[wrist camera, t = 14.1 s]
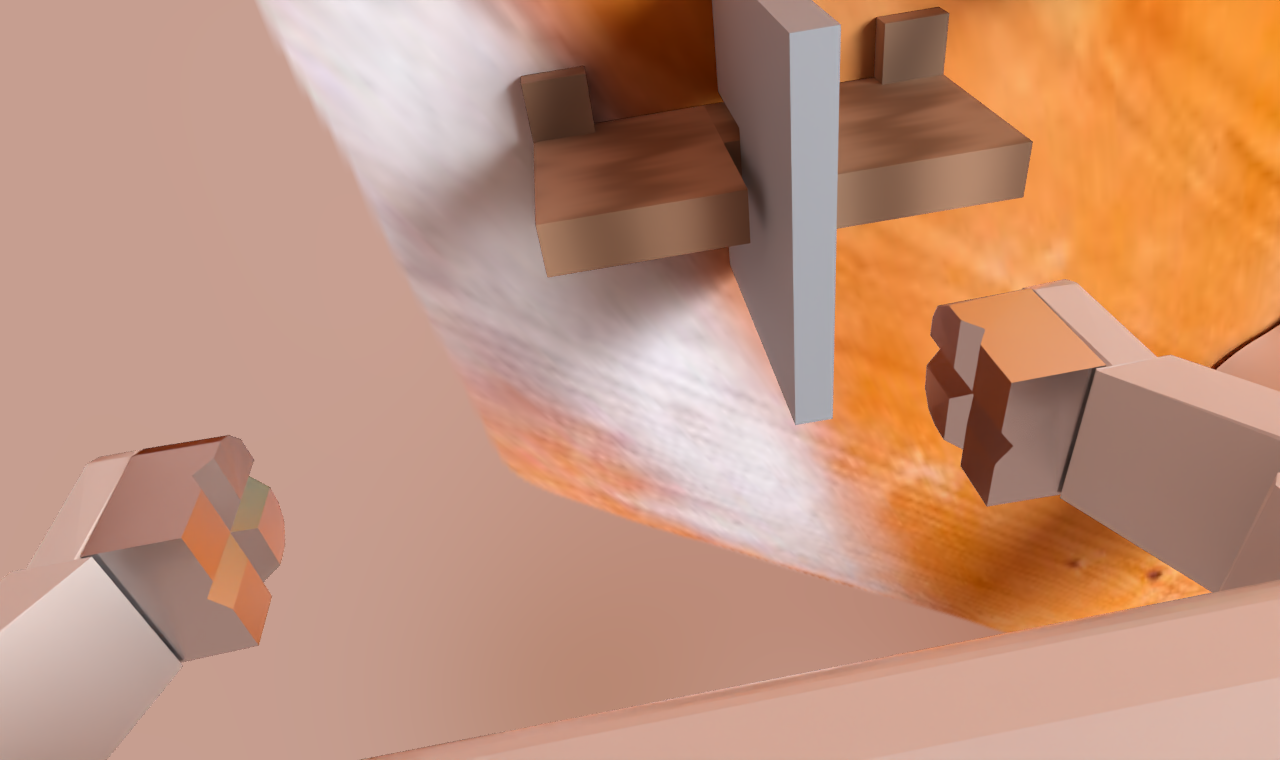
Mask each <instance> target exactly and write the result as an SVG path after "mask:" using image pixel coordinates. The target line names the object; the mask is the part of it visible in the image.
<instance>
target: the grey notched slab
mask: <svg viewBox="0 0 1280 760" xmlns="http://www.w3.org/2000/svg"><path fill="white" fill-rule="evenodd" d="M712 10H713V25H714V39H715V54H716V68H717V83H718V92H719V94H720V96H721V97H722V99H723V101H724V103H725V104H726V106H727V108H728V109H729V111H730V113H731V115H732V116H733V118H734V120H735V121H736V123H737V125H738V127H739V130H740V148H741V167H742V179H743V181H744V183H745V185H746V187H747V189H748V203H749V222H750V242H751V243H749V244H743V245H737V246H731V247H729V257H730V266H731V268H732V271H733V273H734V276H735V278H736V280H737V283H738V285H739V288H740V290H741V293H742V295H743V298H744V300H745V302H746V305H747V307H748V310H749V312H750V315H751V317H752V320H753V322H754V325H755V327H756V329H757V332H758V334H759V337H760V339H761V342H762V344H763V347H764V349H765V351H766V354H767V356H768V359H769V361H770V364H771V366H772V369H773V371H774V374H775V376H776V378H777V381H778V383H779V386H780V388H781V391H782V393H783V396H784V398H785V400H786V403H787V405H788V408H789V410H790V413H791V415H792V418H793V420H794V422H795V425H798V424H804V423H810V422H816V421H821V420H827V419H833V373H834V325H835V277H836V229H837V180H838V132H839V84H840V36H841V25H840V24H839V23H838V22H837V21H836V20H835V19H833V18H832V17H831V16H830V15H829V14H827V13H826V12H825V11H824V10H823V9H821V8H820V7H819V6H818V5H817V4H815V3H814V2H813V1H812V0H712Z"/></svg>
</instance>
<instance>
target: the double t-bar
mask: <svg viewBox="0 0 1280 760" xmlns="http://www.w3.org/2000/svg"><path fill="white" fill-rule="evenodd" d="M948 20H949V13H948V12H946V11H945V10H943V9H941V8H940V7H936V8H930V9H923V10H917V11H911V12H905V13H899V14H893V15H887V16H881V17H876V39H875V61H874V77H871V78H865V79H859V80H853V81H847V82H841V83H840V84H839V132H838V180H837V229H838V228H844V227H850V226H856V225H861V224H867V223H873V222H879V221H885V220H891V219H897V218H903V217H909V216H915V215H921V214H927V213H933V212H938V211H944V210H950V209H956V208H962V207H968V206H974V205H980V204H986V203H992V202H998V201H1004V200H1010V199H1016V198H1021V197H1023V196H1024V190H1025V184H1026V178H1027V172H1028V167H1029V161H1030V155H1031V149H1032V143H1033V142H1032V141H1031V140H1030V139H1028V138H1027V137H1026V136H1025V135H1023V134H1022V133H1021V132H1019V131H1018V130H1017V129H1015V128H1014V127H1013V126H1011V125H1010V124H1009V123H1007V122H1006V121H1005V120H1003V119H1002V118H1001V117H999V116H998V115H997V114H995V113H994V112H993V111H991V110H990V109H989V108H987V107H986V106H985V105H983V104H982V103H981V102H979V101H978V100H977V99H975V98H974V97H973V96H971V95H970V94H969V93H967V92H966V91H965V90H963V89H962V88H961V87H959V86H958V85H957V84H955V83H954V82H953V81H951V80H950V79H949V78H947V77H946V76H945V75H943V72H944V62H945V51H946V41H947V31H948ZM521 86H522V91H523V96H524V100H525V105H526V110H527V115H528V119H529V124H530V129H531V133H532V138H533V143H534V181H535V220H536V229H537V233H538V238H539V242H540V247H541V251H542V256H543V260H544V264H545V269H546V273H547V277H553V276H559V275H565V274H571V273H577V272H583V271H589V270H595V269H601V268H607V267H613V266H619V265H624V264H630V263H636V262H642V261H648V260H654V259H660V258H666V257H672V256H678V255H684V254H690V253H696V252H701V251H707V250H713V249H719V248H725V247H731V246H737V245H743V244H749V243H751V242H750V222H749V203H748V189H747V187H746V185H745V183H744V181H743V179H742V167H741V148H740V130H739V127H738V125H737V123H736V121H735V120H734V118H733V116H732V115H731V113H730V111H729V109H728V108H727V106H726V104H725V103H724V102H721V103H715V104H709V105H703V106H697V107H691V108H685V109H679V110H672V111H666V112H660V113H654V114H648V115H642V116H636V117H630V118H624V119H618V120H612V121H606V122H600V123H594V121H593V115H592V109H591V103H590V97H589V91H588V85H587V79H586V73H585V68H584V66H579V67H573V68H567V69H561V70H555V71H549V72H543V73H537V74H531V75H525V76H521Z"/></svg>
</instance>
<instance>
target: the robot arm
mask: <svg viewBox="0 0 1280 760" xmlns="http://www.w3.org/2000/svg"><path fill="white" fill-rule="evenodd" d="M930 335H931V337H932V338H933V339H934V341H935V342H936V344H937V345H938V346H939V348H940V350H939V351H938V352H937V354H936V355H935V356H934V357H933V358H932V360H931V361H930V362H929V363H928V364H927V370H926V383H925V390H926V396H927V402H928V408H929V411H930V414H931V416H932V419H933V421H934V424H935V426H936V428H937V429H938V431H939V433H940V434H941V436H942V437H943V439H944V440H945V441H947V442H949V443H951V444H953V445H955V446H957V447H959V448H961V449H963V453H962V460H961V467H962V469H963V470H964V472H965V473H966V475H967V477H968V478H969V480H970V481H971V483H972V484H973V486H974V487H975V489H976V490H977V492H978V493H979V495H980V497H981V498H982V500H983V501H984V503H985V504H986V506H993V505H999V504H1005V503H1011V502H1017V501H1023V500H1029V499H1035V498H1042V497H1048V496H1054V495H1060V494H1061V496H1060V498H1061V499H1063V500H1064V501H1066V502H1067V503H1069V504H1071V505H1072V506H1074V507H1076V508H1077V509H1079V510H1080V511H1082V512H1084V513H1085V514H1087V515H1088V516H1090V517H1092V518H1093V519H1095V520H1097V521H1098V522H1100V523H1101V524H1103V525H1105V526H1106V527H1108V528H1109V529H1111V530H1113V531H1114V532H1116V533H1117V534H1119V535H1121V536H1122V537H1124V538H1126V539H1127V540H1129V541H1130V542H1132V543H1134V544H1135V545H1137V546H1138V547H1140V548H1142V549H1143V550H1145V551H1147V552H1148V553H1150V554H1151V555H1153V556H1155V557H1156V558H1158V559H1159V560H1161V561H1163V562H1164V563H1166V564H1167V565H1169V566H1171V567H1172V568H1174V569H1176V570H1177V571H1179V572H1180V573H1182V574H1184V575H1185V576H1187V577H1188V578H1190V579H1192V580H1193V581H1195V582H1197V583H1198V584H1200V585H1201V586H1203V587H1205V588H1206V589H1208V590H1209V591H1211V592H1213V593H1208V594H1203V595H1198V596H1193V597H1188V598H1183V599H1178V600H1173V601H1168V602H1163V603H1157V604H1152V605H1147V606H1142V607H1137V608H1132V609H1127V610H1122V611H1117V612H1111V613H1106V614H1101V615H1096V616H1091V617H1086V618H1081V619H1076V620H1071V621H1065V622H1060V623H1055V624H1050V625H1045V626H1040V627H1035V628H1030V629H1025V630H1019V631H1014V632H1009V633H1004V634H999V635H994V636H989V637H984V638H979V639H974V640H969V641H963V642H958V643H953V644H948V645H943V646H938V647H933V648H928V649H922V650H917V651H912V652H907V653H902V654H897V655H892V656H887V657H882V658H876V659H872V660H866V661H861V662H856V663H851V664H846V665H841V666H836V667H831V668H825V669H820V670H815V671H810V672H805V673H800V674H795V675H790V676H785V677H780V678H775V679H770V680H765V681H759V682H754V683H749V684H744V685H739V686H734V687H729V688H724V689H719V690H713V691H708V692H703V693H698V694H693V695H688V696H683V697H679V698H673V699H668V700H662V701H657V702H652V703H647V704H642V705H637V706H632V707H627V708H622V709H617V710H612V711H606V712H601V713H596V714H591V715H586V716H581V717H576V718H571V719H566V720H561V721H555V722H550V723H545V724H540V725H535V726H530V727H525V728H520V729H515V730H510V731H504V732H499V733H494V734H489V735H484V736H479V737H474V738H469V739H464V740H459V741H453V742H448V743H443V744H438V745H433V746H428V747H423V748H417V749H412V750H408V751H403V752H397V753H392V754H387V755H381V756H377V757H371V758H367V759H361V760H1280V325H1278V326H1277V327H1275V328H1274V329H1272V330H1271V331H1269V332H1268V333H1266V334H1264V335H1263V336H1261V337H1259V338H1258V339H1256V340H1254V341H1253V342H1251V343H1250V344H1248V345H1246V346H1245V347H1243V348H1242V349H1241V350H1239V351H1238V352H1236V353H1235V354H1234V355H1233V356H1231V357H1230V358H1229V359H1227V360H1226V361H1225V362H1224V363H1223V364H1222V365H1220V366H1219V367H1218V368H1217V369H1216V370H1214V369H1211V368H1208V367H1205V366H1202V365H1199V364H1196V363H1193V362H1190V361H1188V360H1185V359H1182V358H1179V357H1176V356H1173V355H1168V356H1162V357H1156V356H1155V355H1154V354H1153V353H1152V352H1151V351H1150V350H1149V349H1148V348H1147V347H1146V346H1144V345H1143V344H1142V343H1141V342H1140V341H1139V340H1138V339H1137V338H1136V337H1135V336H1134V335H1133V334H1131V333H1130V332H1129V331H1128V330H1127V329H1126V328H1125V327H1124V326H1123V325H1122V324H1121V323H1120V322H1119V321H1117V320H1116V319H1115V318H1114V317H1113V316H1112V315H1111V314H1110V313H1109V312H1108V311H1107V310H1106V309H1104V308H1103V307H1102V306H1101V305H1100V304H1099V303H1098V302H1097V301H1096V300H1095V299H1094V298H1093V297H1092V296H1090V295H1089V294H1088V293H1087V292H1086V291H1085V290H1084V289H1083V288H1082V287H1081V286H1080V285H1079V284H1077V283H1076V282H1073V281H1070V280H1066V279H1063V280H1059V281H1054V282H1049V283H1045V284H1040V285H1035V286H1030V287H1026V288H1023V289H1022V290H1018V291H1013V292H1008V293H1002V294H997V295H992V296H986V297H981V298H976V299H970V300H965V301H960V302H954V303H949V304H944V305H939V306H938V307H937V309H936V311H935V313H934V315H933V319H932V326H931V334H930ZM253 462H254V459H253V457H252V456H251V454H250V453H249V451H248V450H247V448H246V447H245V445H244V443H243V442H242V440H241V439H239V438H236V437H233V436H230V435H226V436H220V437H214V438H208V439H202V440H195V441H189V442H183V443H177V444H170V445H164V446H158V447H152V448H146V449H143V450H139V451H138V450H137V451H136V450H135V451H130V452H124V453H118V454H113V455H107V456H101V457H98V458H96V459H95V460H93V461H91V462H89V463H87V464H86V466H85V467H84V469H83V471H82V473H81V474H80V476H79V478H78V480H77V481H76V483H75V485H74V486H73V488H72V490H71V492H70V493H69V495H68V497H67V499H66V500H65V502H64V504H63V506H62V507H61V509H60V511H59V512H58V514H57V516H56V518H55V519H54V521H53V523H52V525H51V526H50V528H49V530H48V531H47V533H46V535H45V537H44V538H43V540H42V542H41V543H40V545H39V547H38V549H37V550H36V552H35V554H34V556H33V557H32V559H31V561H30V562H29V564H28V566H27V568H26V569H22V570H17V571H12V572H10V573H9V574H7V575H6V576H5V577H4V578H2V579H1V580H0V760H107V759H108V758H109V757H110V755H111V754H112V753H113V752H114V750H115V749H116V748H117V747H118V745H119V744H120V743H121V742H122V741H123V739H124V738H125V737H126V736H127V734H128V733H129V732H130V731H131V730H132V728H133V727H134V726H135V724H136V723H137V722H138V721H139V720H140V718H141V717H142V716H143V715H144V714H145V712H146V711H147V710H148V709H149V707H150V706H151V705H152V704H153V702H154V701H155V700H156V699H157V698H158V696H159V695H160V694H161V693H162V691H163V690H164V689H165V687H166V686H167V685H168V684H169V683H170V682H171V680H172V679H173V678H174V677H175V675H176V674H177V673H178V672H179V670H180V669H181V668H182V667H183V666H182V664H181V662H186V661H190V660H195V659H200V658H204V657H209V656H213V655H218V654H222V653H227V652H232V651H236V650H241V649H245V648H250V647H254V646H258V645H259V642H260V638H261V634H262V631H263V628H264V624H265V620H266V616H267V613H268V609H269V605H270V602H271V598H272V596H271V594H270V592H269V591H268V589H267V588H266V586H265V585H264V583H263V582H264V581H265V580H266V579H267V578H268V577H269V576H270V575H271V574H272V573H273V572H274V571H275V570H276V569H277V568H278V567H279V566H280V564H281V560H282V556H283V551H284V547H285V530H284V519H283V515H282V512H281V509H280V506H279V502H278V501H277V499H276V497H275V495H274V494H273V492H272V490H271V488H270V487H269V486H266V485H265V484H263V483H261V482H259V481H257V480H255V479H253V478H252V477H250V476H249V474H250V471H251V468H252V465H253Z"/></svg>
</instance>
